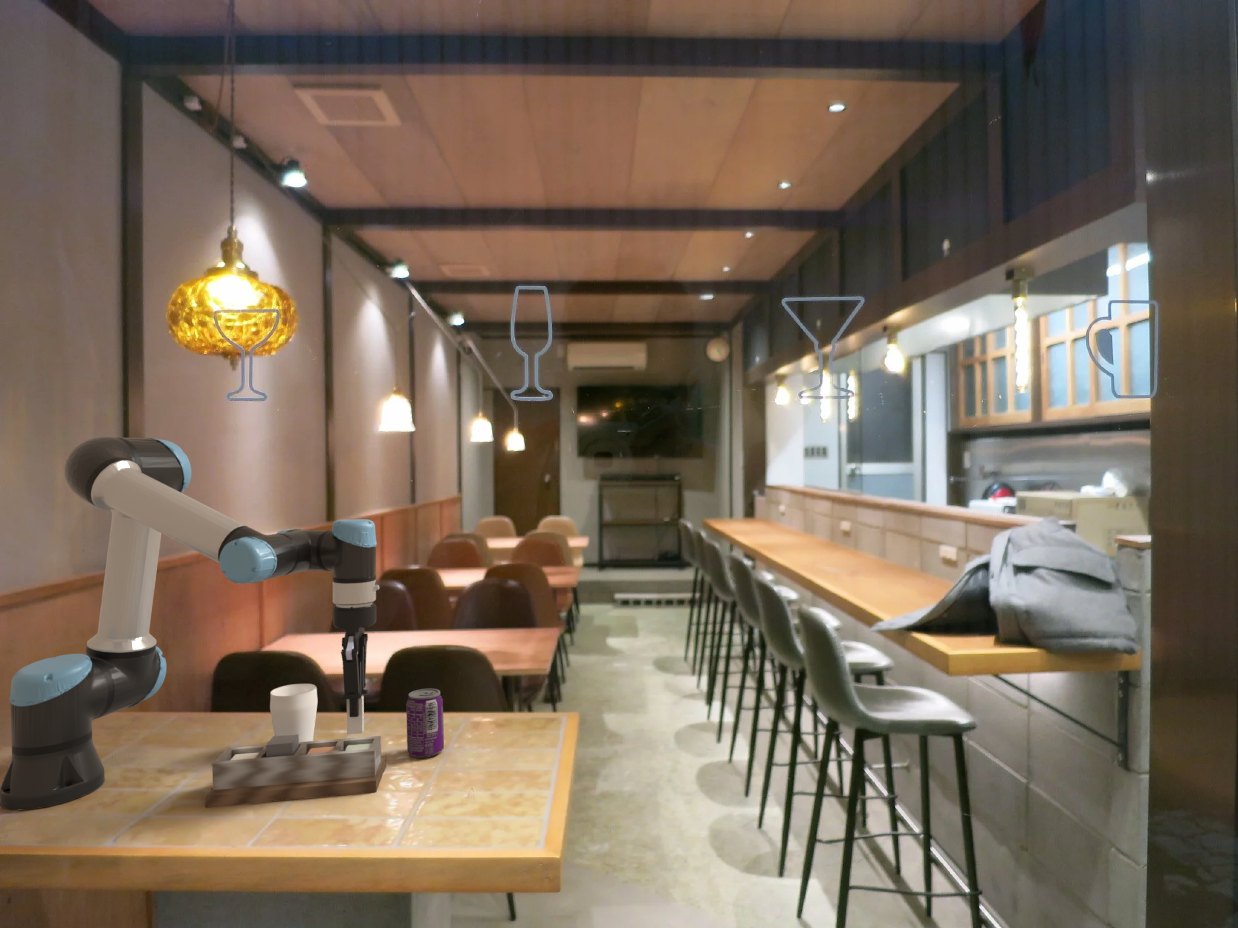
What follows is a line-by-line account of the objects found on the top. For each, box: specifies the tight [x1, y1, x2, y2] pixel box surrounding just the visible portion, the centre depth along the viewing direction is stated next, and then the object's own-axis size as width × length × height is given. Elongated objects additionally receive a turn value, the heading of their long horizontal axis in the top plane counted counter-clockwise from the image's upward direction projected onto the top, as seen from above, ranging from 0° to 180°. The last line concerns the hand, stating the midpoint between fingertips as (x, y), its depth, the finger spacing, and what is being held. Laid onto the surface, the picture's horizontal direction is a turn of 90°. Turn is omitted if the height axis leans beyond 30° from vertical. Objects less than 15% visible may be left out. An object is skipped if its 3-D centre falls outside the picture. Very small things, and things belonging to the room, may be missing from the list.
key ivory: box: [231, 753, 259, 760], centre depth 135 cm, size 4×4×3 cm
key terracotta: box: [308, 746, 335, 754], centre depth 137 cm, size 4×4×3 cm
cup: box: [269, 683, 319, 742], centre depth 155 cm, size 9×9×12 cm
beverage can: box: [405, 688, 445, 759], centre depth 151 cm, size 7×7×12 cm
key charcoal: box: [265, 734, 299, 757], centre depth 136 cm, size 4×4×3 cm
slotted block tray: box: [204, 735, 387, 808], centre depth 136 cm, size 28×12×6 cm, turn 99°
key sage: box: [345, 743, 372, 751], centre depth 138 cm, size 4×4×3 cm
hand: (355, 732), depth 138 cm, fingers closed
